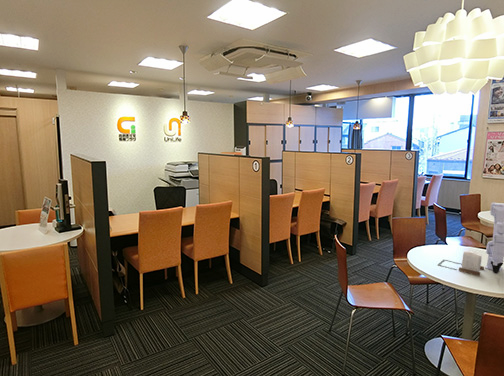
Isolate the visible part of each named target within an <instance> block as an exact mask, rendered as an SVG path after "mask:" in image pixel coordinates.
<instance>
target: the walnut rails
mask: <svg viewBox="0 0 504 376" xmlns="http://www.w3.org/2000/svg"><path fill="white" fill-rule="evenodd" d="M481 270H482V271H485V266H482V265H481V266H480V271H481ZM458 271H459V272H462V273H466V274H470V275H474V276H478V277H479V276H481V275H480V274H481V272H477V271H473V270H469V269H465V268H462V266H461V267H458Z"/></svg>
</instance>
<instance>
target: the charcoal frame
mask: <svg viewBox="0 0 504 376" xmlns="http://www.w3.org/2000/svg"><path fill="white" fill-rule="evenodd" d="M445 261H446V262H449V263H450V262H451V263H454V264H457V265H461V266H462V263H460V262H455V261H451V260H449V259H448V260H447V259H442V260H441V261H440V262H439V263H438V264H437V266H439V267H442V268H446V269H447V268H448V269H450V270H455V271H458V269H457V268H453V267H448V266H445V265H441V264H442V263H444V262H445Z"/></svg>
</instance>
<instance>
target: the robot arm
mask: <svg viewBox="0 0 504 376" xmlns="http://www.w3.org/2000/svg"><path fill="white" fill-rule="evenodd" d="M490 215H491V216H492V217H493V232H492V233H493V234H492V240H491V241H490V240H489V241H488V242H487V244H486V249H485V253H486V254H487V262H486V266H484V269H486V270H491V271H492V273H493V274H496V275H497V274H499V273H500V272H501V271H502V270H503V267H502V266H503V265H504V203H503V202H502V203H500V202H491V204H490Z"/></svg>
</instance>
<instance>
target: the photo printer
mask: <svg viewBox="0 0 504 376" xmlns="http://www.w3.org/2000/svg"><path fill="white" fill-rule="evenodd" d="M461 264H462V265H461V268H465V269H469V270H473V271H477V272H480V271H481V269H480V266H482V265H481V264H482V255H481V254H479V253H477V252H475V251H471V250H464V251H463V254H462V261H461ZM480 273H481V272H480Z"/></svg>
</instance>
